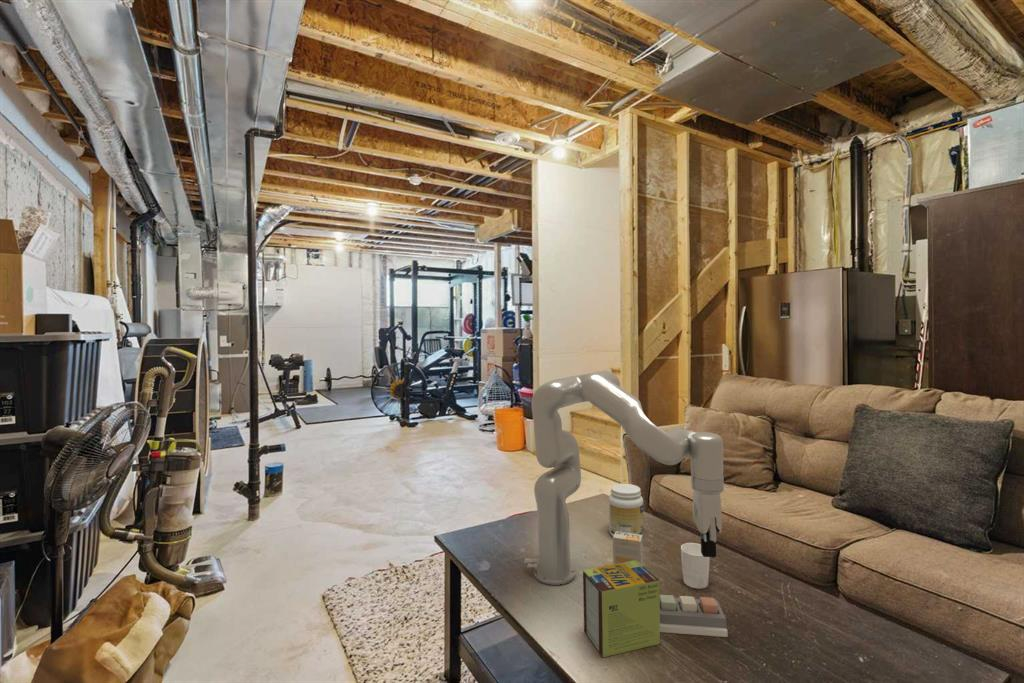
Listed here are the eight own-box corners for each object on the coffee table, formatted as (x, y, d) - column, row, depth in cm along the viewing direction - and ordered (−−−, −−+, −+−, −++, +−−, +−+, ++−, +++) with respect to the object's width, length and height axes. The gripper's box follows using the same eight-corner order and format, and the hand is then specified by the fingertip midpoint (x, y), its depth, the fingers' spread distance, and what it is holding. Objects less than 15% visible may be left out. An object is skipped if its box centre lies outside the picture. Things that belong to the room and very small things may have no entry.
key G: (703, 614, 117) (703, 604, 117) (700, 606, 121) (700, 597, 121) (717, 615, 117) (717, 605, 117) (714, 607, 120) (714, 597, 120)
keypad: (658, 632, 116) (658, 616, 116) (652, 607, 126) (652, 593, 126) (727, 637, 113) (727, 621, 113) (716, 612, 123) (715, 597, 123)
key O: (661, 611, 119) (661, 602, 119) (659, 603, 122) (659, 594, 122) (676, 612, 118) (675, 603, 118) (673, 604, 122) (673, 595, 122)
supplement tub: (648, 542, 163) (647, 493, 163) (613, 542, 164) (612, 494, 163) (639, 527, 176) (638, 482, 175) (606, 527, 176) (605, 482, 175)
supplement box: (644, 577, 141) (643, 534, 140) (641, 585, 136) (640, 541, 136) (616, 572, 144) (615, 530, 144) (613, 580, 140) (612, 536, 139)
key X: (682, 612, 118) (682, 603, 118) (679, 604, 121) (679, 595, 121) (696, 613, 118) (696, 604, 117) (693, 605, 121) (693, 596, 121)
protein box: (661, 644, 112) (660, 579, 111) (602, 658, 107) (601, 591, 107) (637, 618, 122) (636, 559, 121) (582, 630, 117) (581, 569, 117)
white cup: (712, 591, 133) (712, 556, 132) (683, 588, 134) (683, 554, 134) (707, 576, 141) (706, 543, 140) (679, 574, 142) (678, 541, 142)
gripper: (685, 473, 126) (686, 541, 126) (698, 493, 111) (700, 570, 111) (714, 474, 124) (716, 542, 125) (732, 493, 110) (733, 571, 110)
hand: (708, 555), depth 118 cm, fingers closed
